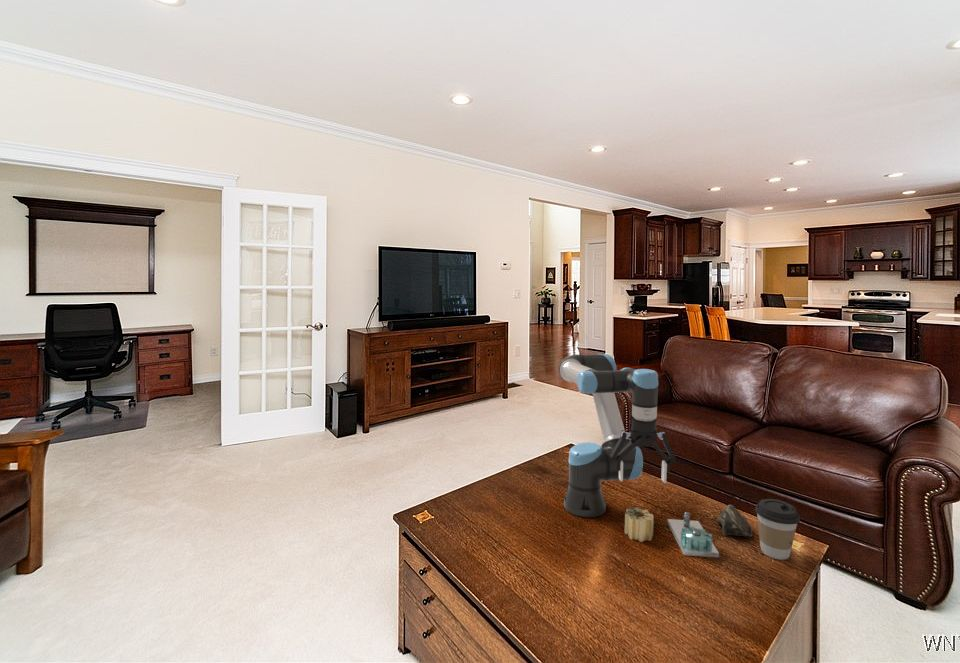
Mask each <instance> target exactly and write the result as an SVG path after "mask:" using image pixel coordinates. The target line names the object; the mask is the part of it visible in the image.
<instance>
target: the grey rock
mask: <svg viewBox="0 0 960 663" xmlns="http://www.w3.org/2000/svg"><path fill="white" fill-rule="evenodd" d="M716 522H717V523H718V524H721V526H722V528H721V531H722V535H723V536H730V535H731V536H735V537H737V536H742V537H745V538H746V539H747V538H752V536H753V529H752V526H751V524H750V523H749V521H748V520H747V518H746V517H745V516H743V515H742V514H741V512H740V511H739V510H738V508H736V507H735V506H734V505H733V504H727V506H726V507H725V509H723V511H721V513H720V514H719V515H718V517H717V519H716Z"/></svg>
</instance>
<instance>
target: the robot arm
mask: <svg viewBox="0 0 960 663" xmlns="http://www.w3.org/2000/svg"><path fill="white" fill-rule="evenodd" d="M557 371H558V374H559V376H560V378H562V379H563V381H566V382H568V383H574V384H575V385H576V386H577V389H578V391H579V392H580V393H582V394H588V395H592V398H593V403H594V405H595V410H596V414H597V418H598V422H599V426H600V430H601V434H602V439H603V441H602V443H601V445H600V444H598V443H595V442H581V443H577V444H575V445H573V446H572V447H571V448H570V449H569V453H568V487H567V489H566V493H565V496H564V499H563V506H564V509H565V510H566V511H567V512H568V513H570V514H572V515H575V516H577V517H583V518H595V517H600V516H602V515H603V514H604V513H605V512H606V509H607V508H606V507H607V506H606V505H607V503H606V499H605V498H604V495H603V491H602V490H603V489H602V481H620V482H622V483H623V481H629V480H637V479H639V477H640V476H641V475H642V472H643V469H644V468H643V466H644V458H643V457H644V456H643V453H642V450H641V448H640V447H650V446H652V447H653V449H655V451H656V452H657V453H658V455H660V456H661V457H662V459H663V460H661V474H660V476H661V481H662V482H663V484H667V473H670V470H671V465H672V463H673V462H674V463H676V461H677V458H676V456H675V454H674V452H673V449H672V448H671V446H670V444H669V441H668V435H667V434H666V433H665V431H662V430H661V431H660V432H657V426H658V425H657V422H658V420H657V417H658V414H657V413H658V395H659V374H658V372H657V371H656V370H653V369H649V368H637V369H634V368H632V367H623V368H621V369H619V370H618V369H617V364H616V361H615V359H614V358H613V357H612V356H611V355H610V354H607V353H596V354H595V353H594V354H593V353H592V354H589V353H586V354H572V355H571V354H570V355H568V356H566V357H565V358H563V359H562V360H560V363H559V365H558V368H557ZM615 393H616V394H617V393H630V394H631V396H632V397H631V398H632V401H631V429H630V430H631V431H629V432H627V431H626V430H625V427H624V423H623V420H622V415H621V413H620V409H619V405H618V402H617V398H616V394H615ZM629 437H630V438H629ZM658 438H659V439H660V440H661V441H662V444H663V445H664V447H665V450H666V451H667V454H668V456H667V455H666V453H665V452H664V451H663V449H661V448H660V446H659V445H658V444H657V443H656V442H655V441H656V440H657V439H658Z"/></svg>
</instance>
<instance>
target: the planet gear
mask: <svg viewBox="0 0 960 663" xmlns="http://www.w3.org/2000/svg"><path fill="white" fill-rule="evenodd" d="M649 511H650V510H648V509H642V508H639V507H634V508H627V509H626V511H625V512H624V534H625V535H627V536H628V538H629V540H635V541H638V542H639V543H644V541H645V542H646V541H649V542H650V541H652V540H653V537H654V514H653V513H650V512H649Z"/></svg>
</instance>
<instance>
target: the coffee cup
mask: <svg viewBox="0 0 960 663" xmlns="http://www.w3.org/2000/svg"><path fill="white" fill-rule="evenodd" d="M754 510H755V513H756V516H757V524H758V535H759V545H760V549H761V552H762V553H763V554H764V555H766V556H767V557H769V558H772V559H775V560H780V561H781V560H782V561H785V560H788V559H789V557H790V556H791V552H792V547H793V543H794V539H795V534H796V530H797V526H798V524H799V523H800V521H801V518H800V517H801V515H800V514H799V512H798V510H797V509H796V508H795V506H793V505H792V504H790V503H788V502H787V501H783V500H779V499H774V498H765V499H764V498H763V499H761V500H759V501H758V503H756V505H755V508H754Z"/></svg>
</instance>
